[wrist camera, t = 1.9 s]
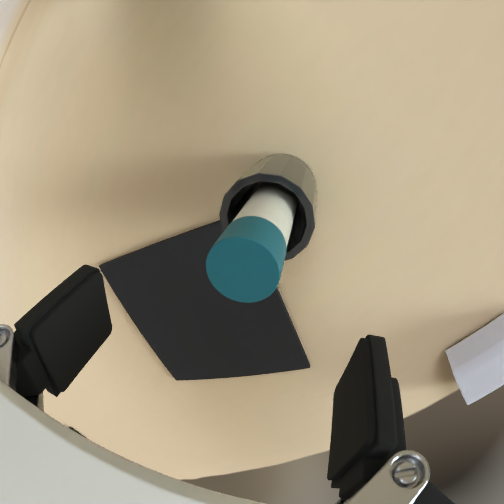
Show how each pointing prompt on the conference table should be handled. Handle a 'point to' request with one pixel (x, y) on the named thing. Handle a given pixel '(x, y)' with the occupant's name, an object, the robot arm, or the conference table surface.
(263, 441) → the conference table surface
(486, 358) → the charger
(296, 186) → the pen cup
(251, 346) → the mat
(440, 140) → the conference table surface
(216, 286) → the marker
